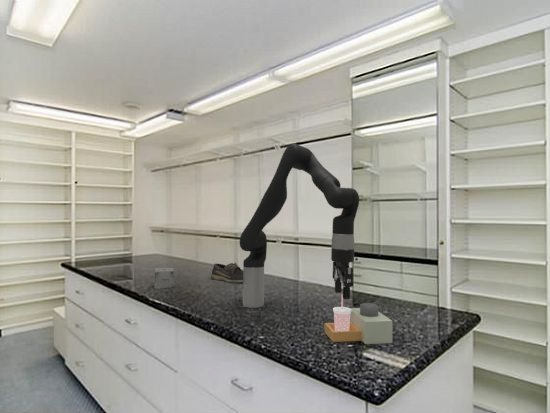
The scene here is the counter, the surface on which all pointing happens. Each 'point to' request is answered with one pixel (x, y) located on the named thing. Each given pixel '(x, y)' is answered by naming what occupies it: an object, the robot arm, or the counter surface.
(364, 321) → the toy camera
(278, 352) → the counter surface
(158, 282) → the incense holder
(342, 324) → the beverage cup
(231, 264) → the boat shoe
